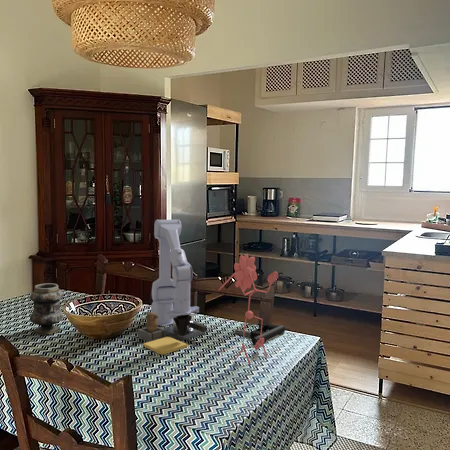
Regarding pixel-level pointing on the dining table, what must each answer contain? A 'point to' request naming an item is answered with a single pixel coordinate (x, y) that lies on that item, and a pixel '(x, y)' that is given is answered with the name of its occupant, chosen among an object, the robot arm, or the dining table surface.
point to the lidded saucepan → (192, 326)
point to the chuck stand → (176, 335)
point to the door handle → (263, 332)
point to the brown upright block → (151, 322)
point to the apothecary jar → (46, 308)
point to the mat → (165, 345)
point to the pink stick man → (244, 280)
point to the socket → (151, 334)
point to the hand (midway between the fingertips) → (182, 335)
